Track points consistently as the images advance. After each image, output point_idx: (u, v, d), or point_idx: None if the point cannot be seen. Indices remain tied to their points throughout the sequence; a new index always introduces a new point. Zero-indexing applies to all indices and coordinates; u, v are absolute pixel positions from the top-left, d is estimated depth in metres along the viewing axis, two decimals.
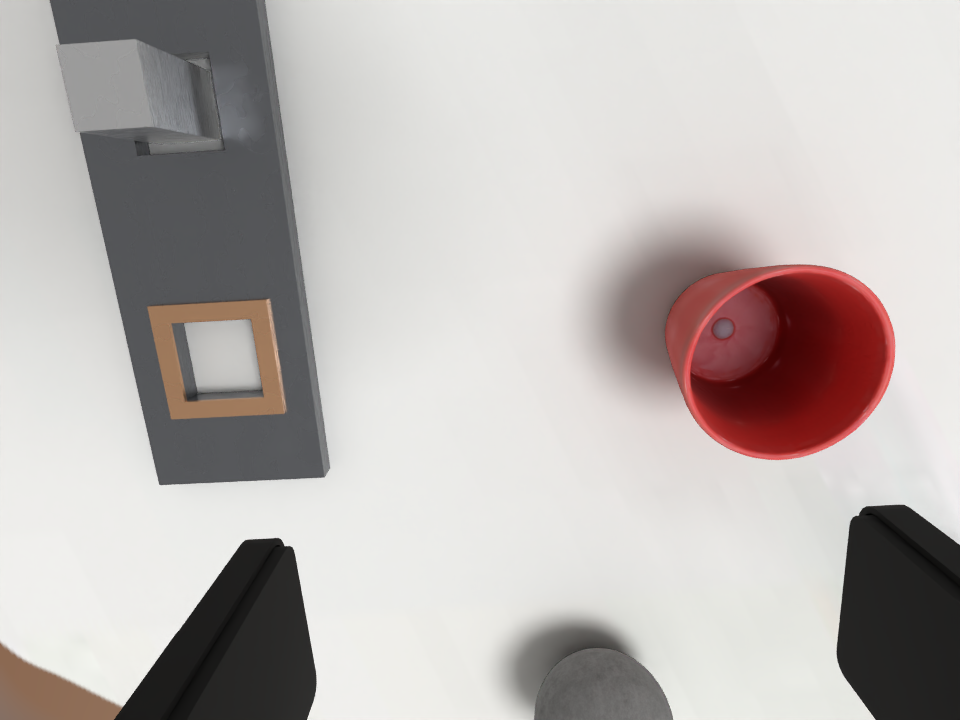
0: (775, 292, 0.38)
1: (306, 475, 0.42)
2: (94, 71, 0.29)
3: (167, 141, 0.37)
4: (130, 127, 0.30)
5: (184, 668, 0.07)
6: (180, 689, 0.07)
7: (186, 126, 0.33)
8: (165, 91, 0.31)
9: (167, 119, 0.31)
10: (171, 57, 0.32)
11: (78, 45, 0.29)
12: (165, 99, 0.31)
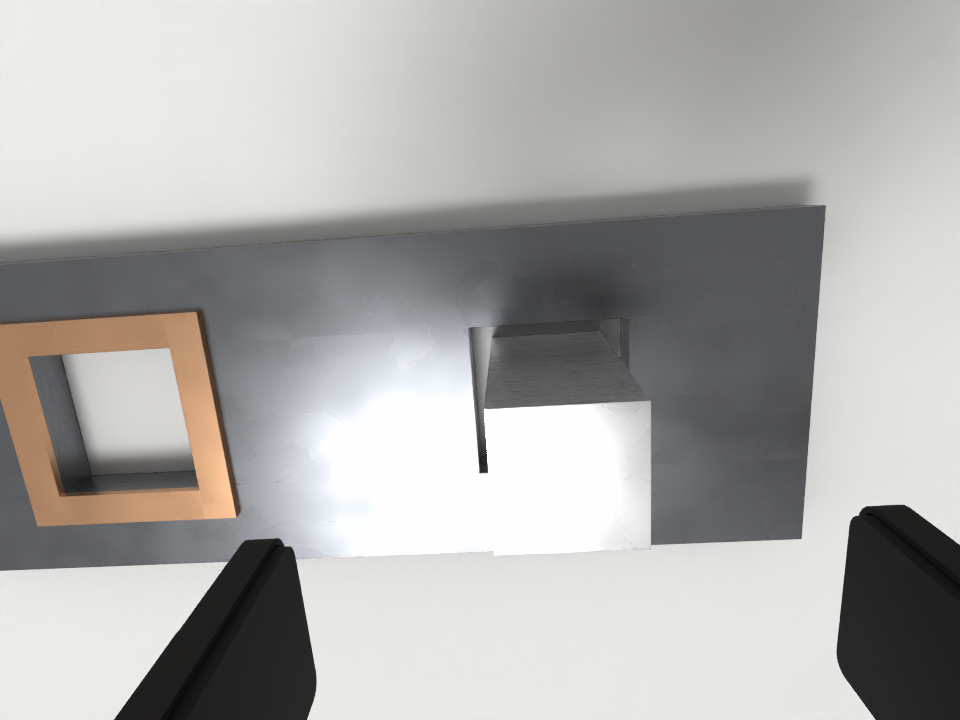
0: None
1: None
2: (597, 467, 0.15)
3: None
4: (493, 514, 0.15)
5: (184, 668, 0.07)
6: (180, 689, 0.07)
7: None
8: None
9: None
10: None
11: (646, 444, 0.14)
12: None
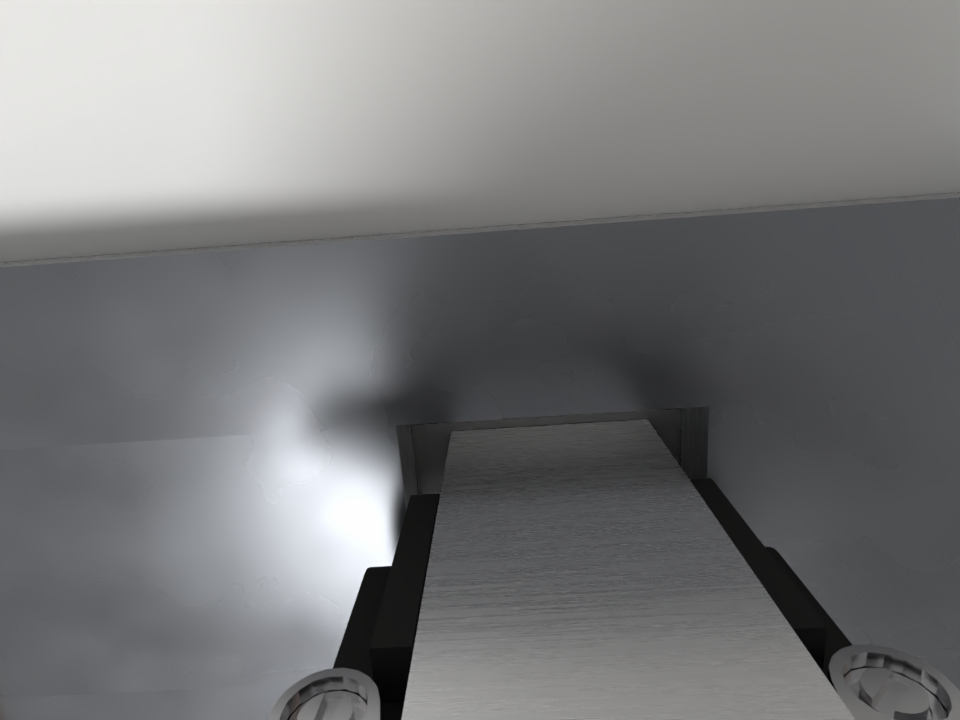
0: None
1: None
2: None
3: None
4: None
5: (412, 591, 0.08)
6: (418, 606, 0.08)
7: None
8: None
9: None
10: None
11: None
12: None
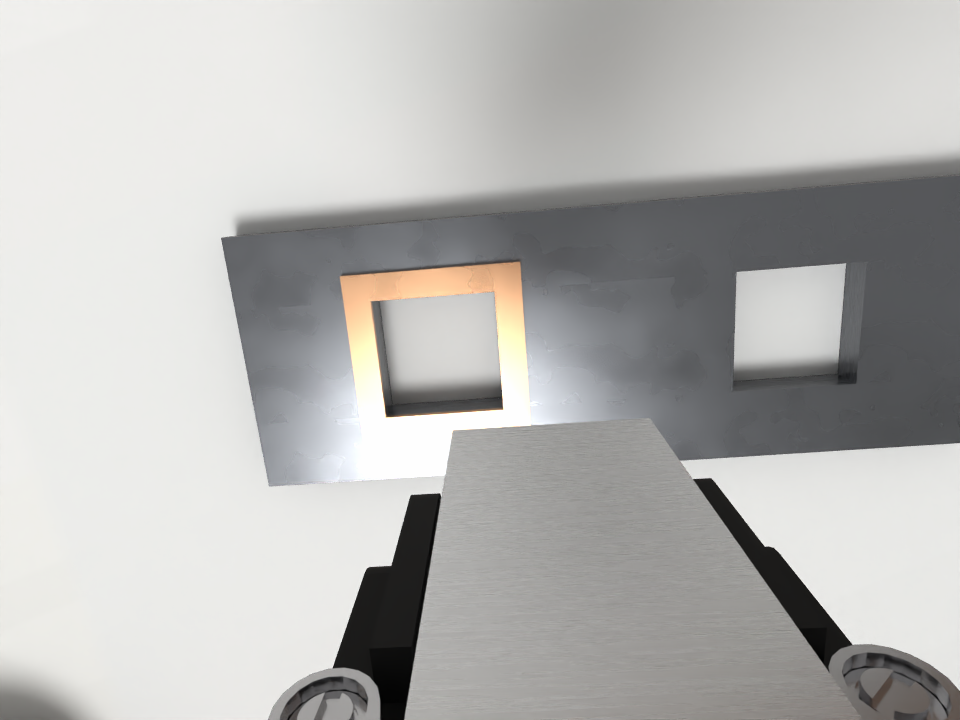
0: None
1: (268, 462, 0.29)
2: None
3: None
4: None
5: (412, 591, 0.08)
6: (419, 605, 0.08)
7: None
8: None
9: None
10: None
11: None
12: None
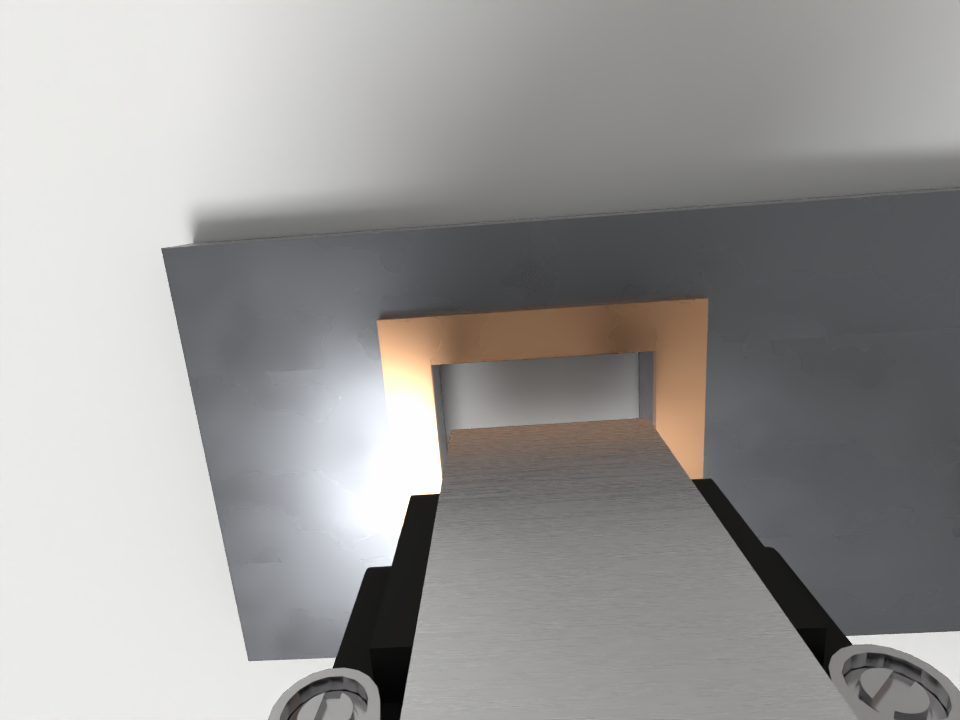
0: None
1: (248, 624, 0.17)
2: None
3: None
4: None
5: (412, 591, 0.08)
6: (418, 605, 0.08)
7: None
8: None
9: None
10: None
11: None
12: None
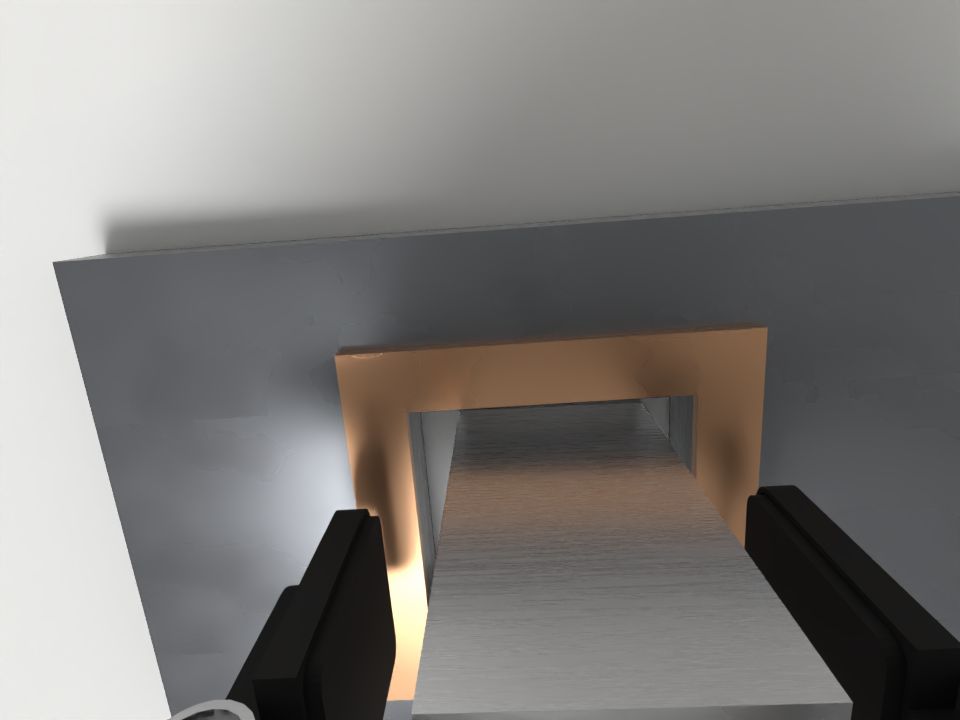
0: None
1: None
2: None
3: None
4: None
5: (312, 615, 0.08)
6: (315, 631, 0.07)
7: None
8: None
9: None
10: None
11: None
12: None
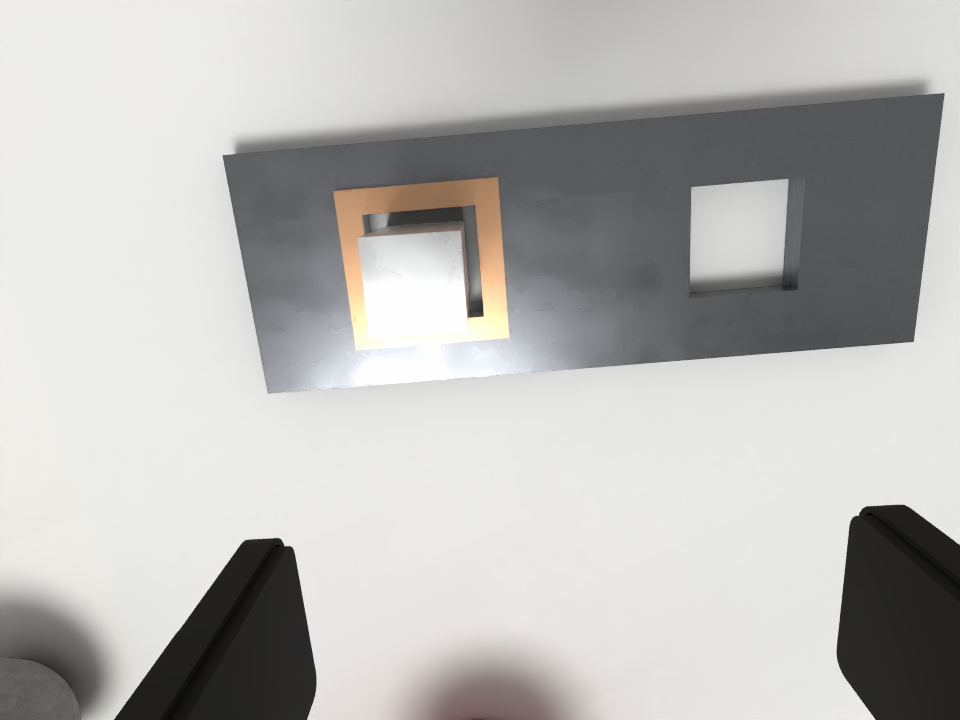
0: None
1: (267, 370, 0.31)
2: (430, 275, 0.23)
3: None
4: (366, 309, 0.24)
5: (184, 668, 0.07)
6: (180, 688, 0.07)
7: None
8: None
9: None
10: None
11: (460, 259, 0.23)
12: None
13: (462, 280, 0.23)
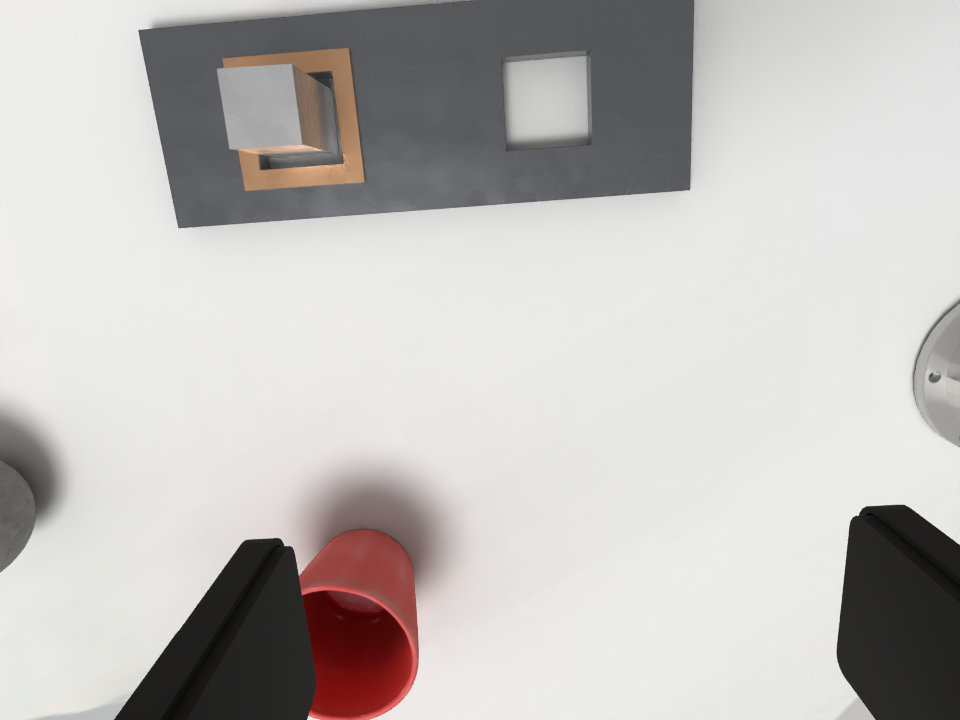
0: None
1: (177, 208, 0.39)
2: (271, 99, 0.32)
3: None
4: (226, 126, 0.32)
5: (184, 668, 0.07)
6: (180, 689, 0.07)
7: (261, 153, 0.36)
8: (277, 149, 0.34)
9: (250, 150, 0.34)
10: (317, 149, 0.35)
11: (292, 86, 0.31)
12: (269, 149, 0.34)
13: (295, 103, 0.32)
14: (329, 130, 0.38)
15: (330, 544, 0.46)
